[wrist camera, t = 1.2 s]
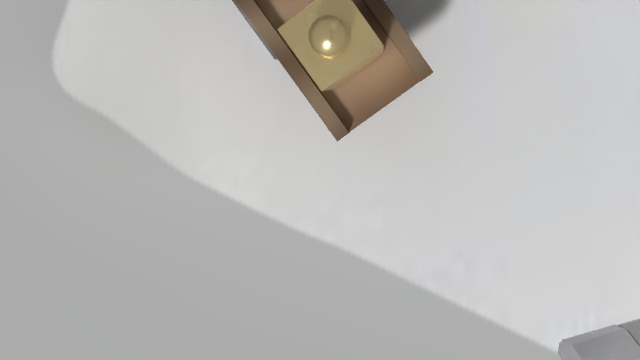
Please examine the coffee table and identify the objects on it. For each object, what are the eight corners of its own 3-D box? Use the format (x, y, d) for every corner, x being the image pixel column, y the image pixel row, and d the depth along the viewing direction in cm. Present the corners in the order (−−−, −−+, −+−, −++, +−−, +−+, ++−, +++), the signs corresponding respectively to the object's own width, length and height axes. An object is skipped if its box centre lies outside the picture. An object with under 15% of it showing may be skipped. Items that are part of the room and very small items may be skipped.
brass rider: (383, 54, 40) (383, 43, 29) (336, 88, 41) (319, 91, 30) (349, 5, 40) (336, -23, 29) (302, 41, 41) (273, 27, 30)
